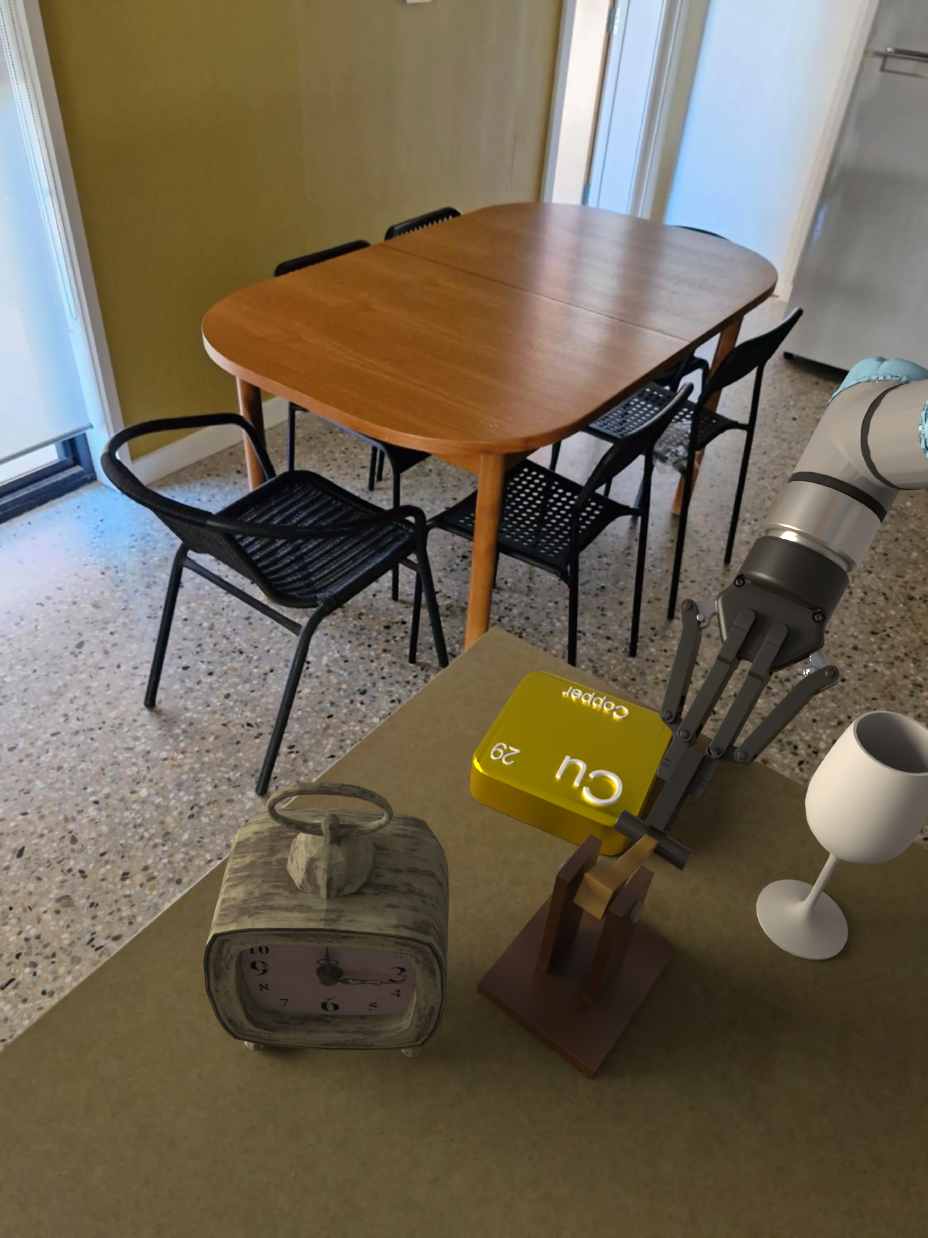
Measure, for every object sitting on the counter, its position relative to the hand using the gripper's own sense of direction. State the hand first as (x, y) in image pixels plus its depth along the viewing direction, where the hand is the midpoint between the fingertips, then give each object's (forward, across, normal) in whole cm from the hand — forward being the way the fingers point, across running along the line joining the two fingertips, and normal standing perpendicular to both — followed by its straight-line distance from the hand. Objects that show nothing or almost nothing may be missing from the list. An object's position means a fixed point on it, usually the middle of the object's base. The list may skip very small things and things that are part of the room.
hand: (657, 826), depth 68 cm
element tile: (+1, +11, -11) cm, 16 cm away
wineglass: (+2, -12, -11) cm, 16 cm away
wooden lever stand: (+13, 0, 0) cm, 13 cm away
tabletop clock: (+22, +12, +10) cm, 27 cm away
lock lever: (+4, 0, +3) cm, 5 cm away
